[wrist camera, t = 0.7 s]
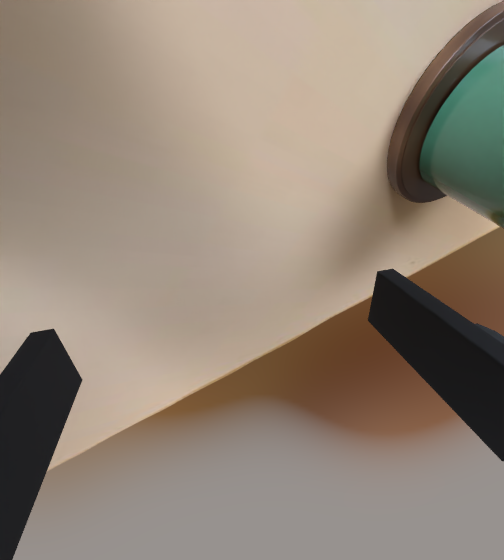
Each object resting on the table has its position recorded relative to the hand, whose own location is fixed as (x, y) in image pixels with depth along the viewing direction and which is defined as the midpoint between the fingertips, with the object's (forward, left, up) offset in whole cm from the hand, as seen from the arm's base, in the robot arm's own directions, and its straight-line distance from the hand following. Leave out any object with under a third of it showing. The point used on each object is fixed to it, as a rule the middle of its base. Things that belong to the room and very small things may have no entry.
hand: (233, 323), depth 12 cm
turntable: (-3, +25, -12) cm, 28 cm away
